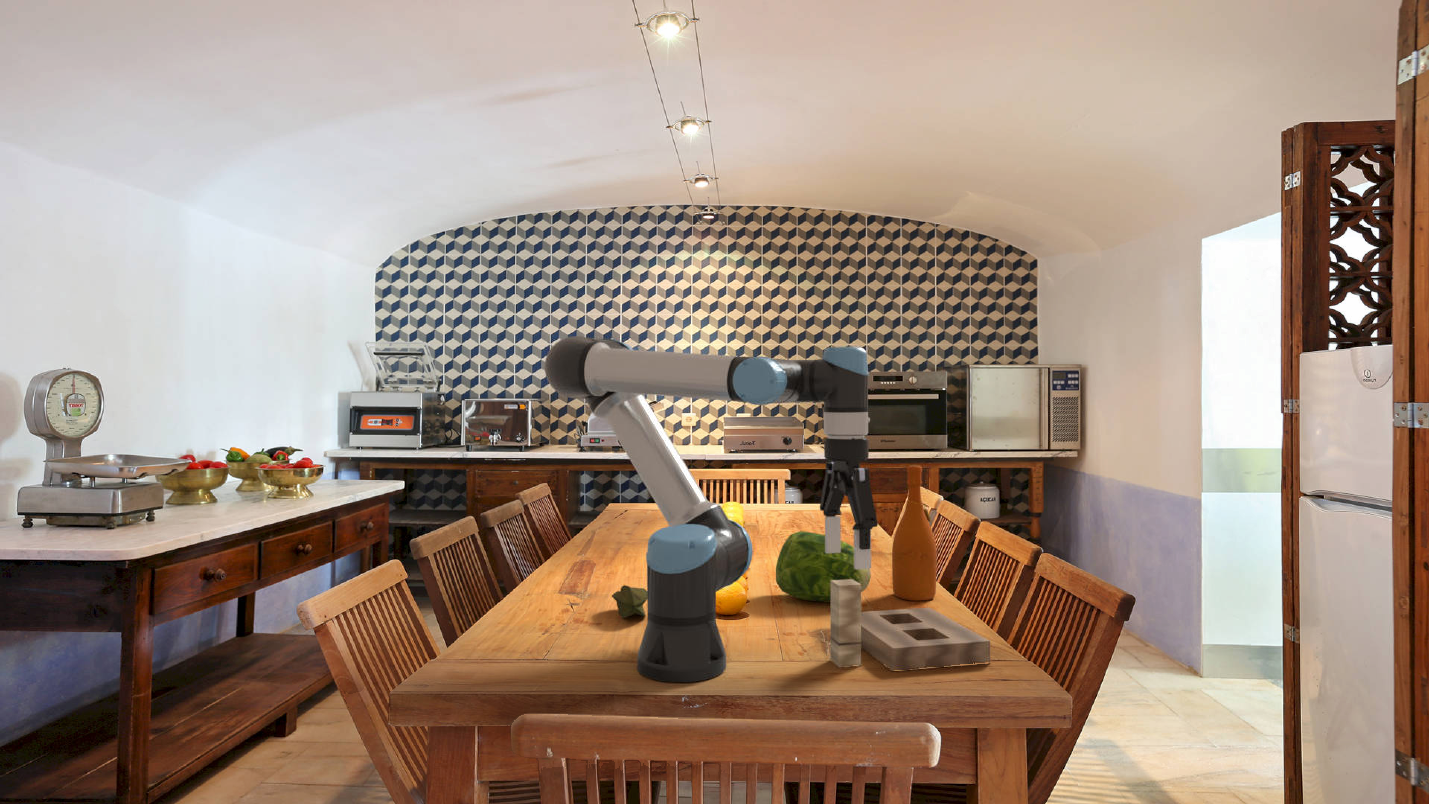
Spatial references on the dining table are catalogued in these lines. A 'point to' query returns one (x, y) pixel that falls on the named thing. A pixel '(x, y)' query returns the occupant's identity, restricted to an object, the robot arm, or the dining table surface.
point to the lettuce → (815, 567)
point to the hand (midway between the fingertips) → (847, 560)
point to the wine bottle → (914, 547)
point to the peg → (845, 622)
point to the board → (920, 639)
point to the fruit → (630, 601)
